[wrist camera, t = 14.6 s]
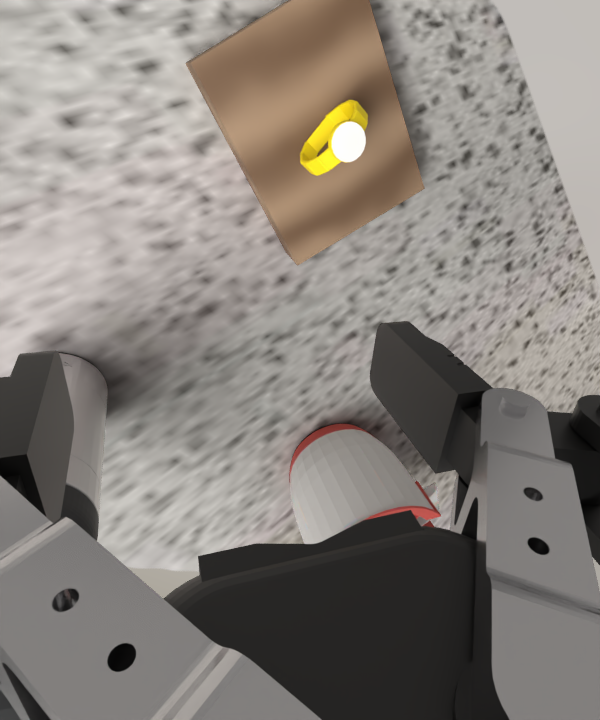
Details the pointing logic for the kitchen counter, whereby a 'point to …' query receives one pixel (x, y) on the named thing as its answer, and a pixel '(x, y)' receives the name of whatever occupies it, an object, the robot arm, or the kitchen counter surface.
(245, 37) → the block
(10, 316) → the kitchen counter surface
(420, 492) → the citrus juicer
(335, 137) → the watch
